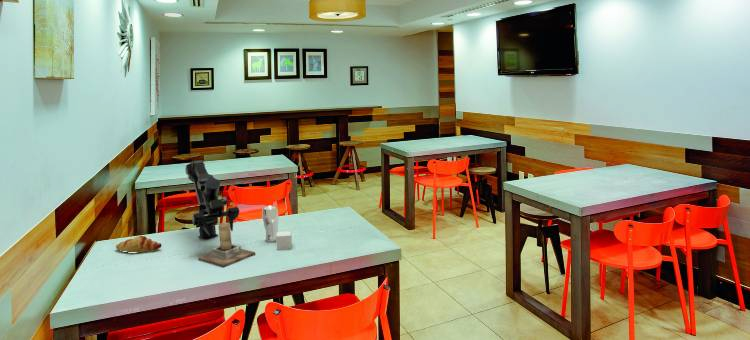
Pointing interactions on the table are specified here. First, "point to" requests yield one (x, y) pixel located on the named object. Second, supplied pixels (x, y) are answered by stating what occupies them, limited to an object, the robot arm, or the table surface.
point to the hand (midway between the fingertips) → (221, 232)
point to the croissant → (138, 245)
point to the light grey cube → (284, 240)
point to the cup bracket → (226, 256)
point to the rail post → (225, 236)
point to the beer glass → (270, 222)
